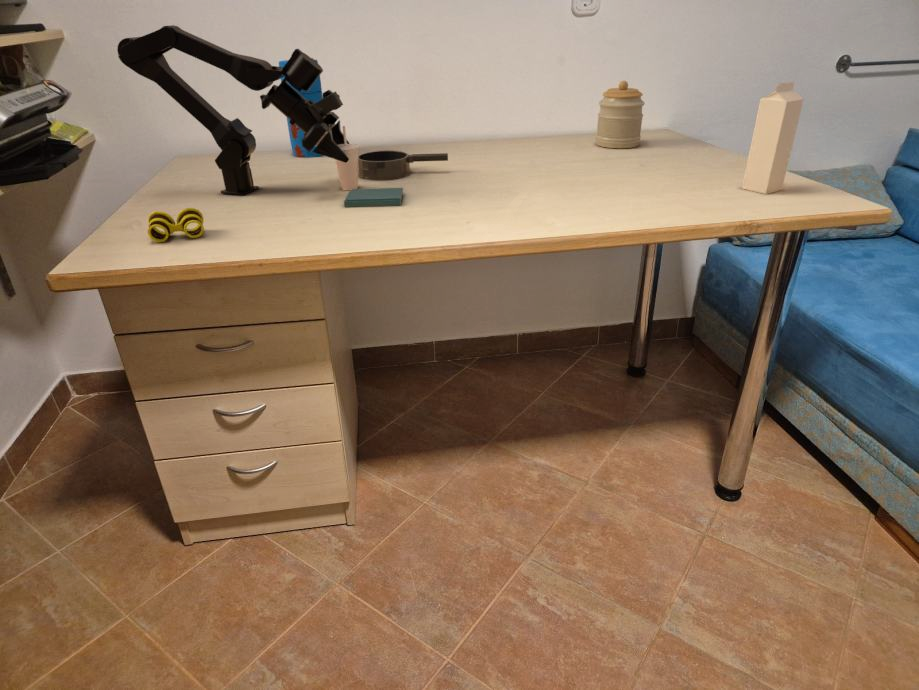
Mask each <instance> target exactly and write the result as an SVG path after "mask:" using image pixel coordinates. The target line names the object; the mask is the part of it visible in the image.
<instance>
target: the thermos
mask: <svg viewBox="0 0 919 690" xmlns="http://www.w3.org/2000/svg"><path fill="white" fill-rule="evenodd" d="M288 60H289V59H286V60H280V61H279V60H278V67H280V66H281V67H284V66H285V64H286V63H287V62H288ZM314 60H315V61H316V62H317V63H318V64H319V61H318V59H314ZM284 78H285V77H283V78H281V79H280V83H281V82H282V81H283V79H284ZM287 83H288V82H287ZM288 84H289V83H288ZM289 85H290V84H289ZM290 86H291V85H290ZM291 87H292V86H291ZM292 88H293V89H295V88H294V87H292ZM295 90H296V89H295ZM296 91H297V92H298V93H299V94H300V95H301V96H302V97H303V98H305V99H306V100H312V101H313V102H314V103H316V102H318V101H320V100H321V99H323V89H322V81H321V75H320V76H319V77H318V78H317V80H316V81H315V82H314V83H313V85H312V86H311V87H310V89H309V90H308V91H305V90H303V89H302V91H301V92H300V91H298V90H296ZM290 121H291V120H289V119H288V118H287V117H286V123H287V129H288V134H289V135H288V136H289V141H290V142H289V143H290V146H291V152H292V155H293V156H294V157H296V158H315V157H316V158H317V157H321V156H323V155H321V154H317V153H313V150H314V149H315V148H316V146H314V147H313V149H312V150H311V151H310V152H309V151H307V150H306V149H305V148H304V147H303V146H302V139H303V138H304V135H305V133H304V132H303V131H302V130H301V129H300V128H299V127H297V126H296V125H295V124H294V125H291V124H290V123H289V122H290Z"/></svg>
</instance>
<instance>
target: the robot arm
mask: <svg viewBox="0 0 919 690" xmlns="http://www.w3.org/2000/svg"><path fill="white" fill-rule="evenodd" d="M173 49H175V50H177V51H179V52H182V53H184V54H186V55H188V56H191V57H193V58H195V59H198V60H199V61H202V62H204V63H206V64H209V65H211V66H213V67H215V68H217V69H220V70H222V71H224V72H225V73H228V74H229V75H230V76H231V77H232V78H234V79H235V80H236V81H238V83H240V84H242V85H243V86H244V87H246V88H248V89H250V90H252V91H256V92H260V91H263V90H265V89H266V88H269V87H270V89H269V90H268V91H267V93H266V94H260V95H259V99H260V102H261V109H263V110H266V109H267V108H269V107H270V105H272V106H273V107H275V108H276V109H277V110H278V111H279V112H280V113H281V114H283V115H284V116H285V117H286V119H287V118H288V119H289V120H291V121H290V122H289V123H290V124H291V125H294V124H295V125H296V126H297V127H299V128H300V129H301V130H302V131H303V132H304V133H305V135H304V138H303V139H302V146H303V147H304V148H305V149H306V150H307V151H309V152H310V151H311V150H312V149H313V147H314V146H316V148H315V149H314V150H313V153H317V154H321V155H322V156H324V157H328V158H331V159H334V160H335V159H336V160H339V161H342V162H345V163H347V162H348V160H349V158H348V157H347V156H346V154H345V153H344V152H343V151H342V150H341V149H340V147H339V146H338V145H339V144H344V135H343V131H342V129H341V128H342V127H341V120H340V116H338V114H337V113H335V111H336V110H338V109H340V108H341V107H342V106H343V105H344V104H343V102H342V100H341V96H340V95H339V94H338V93H337V91H332V90H330V89H327V90H326V91H323V92H322V96H323V99H321V100H320V101H318V102H316V103H314V102H313V101H312V100H306V99H305V98H303V97H302V96H301V95H300V94H299V93H298V92H297V91H296V90H298V91H300V92H301V91H302V89H303V90H305V91H308V90H309V89H310V87H311V86H312V85H313V83H314V82H315V81H316V80H317V78H318V77H319V76H320V77H321V75H322V73H323V72H324V69H323V67H322V66H321V65H320V63H319V62H318V63H317V62H316V61H315V60H316V59H314V58H313V57H310V56H309V55H308V54H306V53H305V52H303V51H302V50H301V49H300V48H295V49H294V51H292V53H291V55H290V58H289V59H287V60H288V62H287V63H286V64H285V66H284V67H281V66H280V67H279V66H276V65H272V64H271V63H269V61H267V60H264V59H261V58H257V57H253V56H249V55H244V54H239V53H235V52H232V51H230V50H228V49H226V48H223V47H221V46H219V45H216V44H215V43H212V42H210V41H208V40H206V39H204V38H202V37H199V36H198V35H194V34H192V33H191V32H188V31H186V30H183V28H181V27H180V26H178V25H174V24H173V25H163V26H162V27H161V28H159V29H157V30H155V31H152V32H149V33H147V34H145V35H143V36H135V37H133V36H132V37H126V38H123V39H121V40H120V41H119V42H118V43H117V57H118V59H119V61H120V62H121V63H122V64H123V65H124V66H126V67H127V68H128V69H130V70H132V71H133V72H134V73H136V74H138V75H139V76H141V77H144V78H145V79H148V80H150V81H151V82H154V83H155V84H156V85H158V86H159V87H160V89H162V90H163V91H164V92H165V93H166V94H167V95H169V96H170V97H171V99H173V100H174V101H176V103H177V104H179V106H181V107H182V108H183V109H184V110H185V111H187V113H189V115H191V116H192V117H193V118H194V119H195V120H197V121H198V123H200V124H201V126H203V127H204V128H205V129H207V130H208V132H209V133H210V134H211V136H212V138H213V139H214V142H215V143H216V145H217V146H218V147H219V148H220V150H221V151H220V152H219V154H218V155H217V156H216V158H215V159H214V162H215V164H216V166H217V167H218V169H219V170H221V174H222V179H223V184H224V188H225V189H222V190H221V191H220V193H221V194H222V195H223V194H224V195H234V196H235V195H237V196H244V195H247V194H250V193H252V192H254V191H256V190H259V189H260V186H259V185H254V179H253V173H252V169H251V166H250V160H251V158H252V157H251V156H252V154H253V153H254V152H255V150H256V148H257V142H256V137H255V136H254V135H253V133H252V132H253V130H252V129H250V128H248V127H247V126H246V125H245V124H244V122H242V120H241V119H240V118H238V117H236V118H234V119H233V120H230V119H228V118H226V117H224V116H223V115H222V114H221V113H220V112H219V111H218V110H217V109H216V108H214V107H213V106H212V105H211V104H210V103H209V102H208V101H207V100H206V99H205V98H203V97H202V95H200V94H199V93H198V92H197V91H196V90H195V89H194V88H193V87H192V86H191V85H189V84H188V82H186V80H185V79H183V77H181V76H180V75H179V74H178V73H177V72H176V71H174V70H173V68H171V66H170V64H169V63H168V60H167V59H166V56H165V55H164V54H166V53H168V52H170V51H171V50H173ZM283 77H285V78H284V79H283V81H282V82H281V81H280V83H279V85H276V84H274V82H277V81H278V80H281V78H283ZM287 82H288V83H289V84H290V85H291V86H292V87H294V88H295V89H296V90H295V89H293V88H292V87H291V86H290V85H289V84H288V83H287ZM346 140H347V144H351V143H350V142H349V140H348V139H347V138H346Z"/></svg>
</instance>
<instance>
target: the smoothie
mask: <svg viewBox="0 0 919 690" xmlns="http://www.w3.org/2000/svg"><path fill="white" fill-rule="evenodd" d="M346 131H347V130H346V125H342V133H343V135H344V144H339V145H338V146H339V147H340V149H341V150H342V151H343V152H344V153H345V154H346V156H347V157H348V158H349V160H348V162H347V163H345V162H342V161H339V160H336V159H334V161H335V165H336V170H337V174H338V179H339V181H340V186H341V190H342V191H351V190H352V189H359V175H358V155H359V151H360V145H359V144H356V143H350V144H347V140H348V139H347V132H346ZM346 139H347V140H346Z"/></svg>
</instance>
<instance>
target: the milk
mask: <svg viewBox="0 0 919 690" xmlns="http://www.w3.org/2000/svg"><path fill="white" fill-rule="evenodd" d="M794 84H795V82H794V81H789V82H780V83H777V84H776V85H775V91H773V92H772V93H770V94H768V95H765V96H764V97H762V98H760V100H759V105H758V109H757V114H756V119H755V123H754V128H753V134H752V139H751V143H750V148H749V152H748V157H747V162H746V167H745V171H744V177H743V180H742V186H741V189H743V190H746V191H751V192H756V193H759V194H764V195H767V194H771V193H775V192H779V191H781V190H782V189H783V186H784V182H785V179H786V174H787V171H788V165H789V163H790V162H789V161H790V157H791V154H792V153H791V152H792V149H793V144H794V140H795V137H796V132H797V128H798V124H799V120H800V117H801V112H802V109H803V103H804V98H803V97H802V96H801V95H799V93H797V92H796V91H795V90H794V89H793V88H794Z"/></svg>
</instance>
